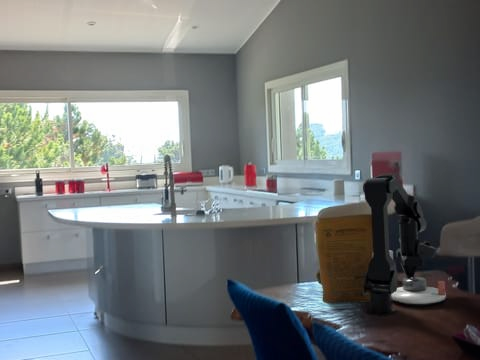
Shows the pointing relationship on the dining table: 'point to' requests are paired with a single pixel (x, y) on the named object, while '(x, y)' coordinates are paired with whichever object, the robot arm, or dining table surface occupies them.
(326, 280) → the pancake mix bag
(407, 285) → the cover
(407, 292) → the platter
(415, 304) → the turntable base
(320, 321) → the dining table surface
